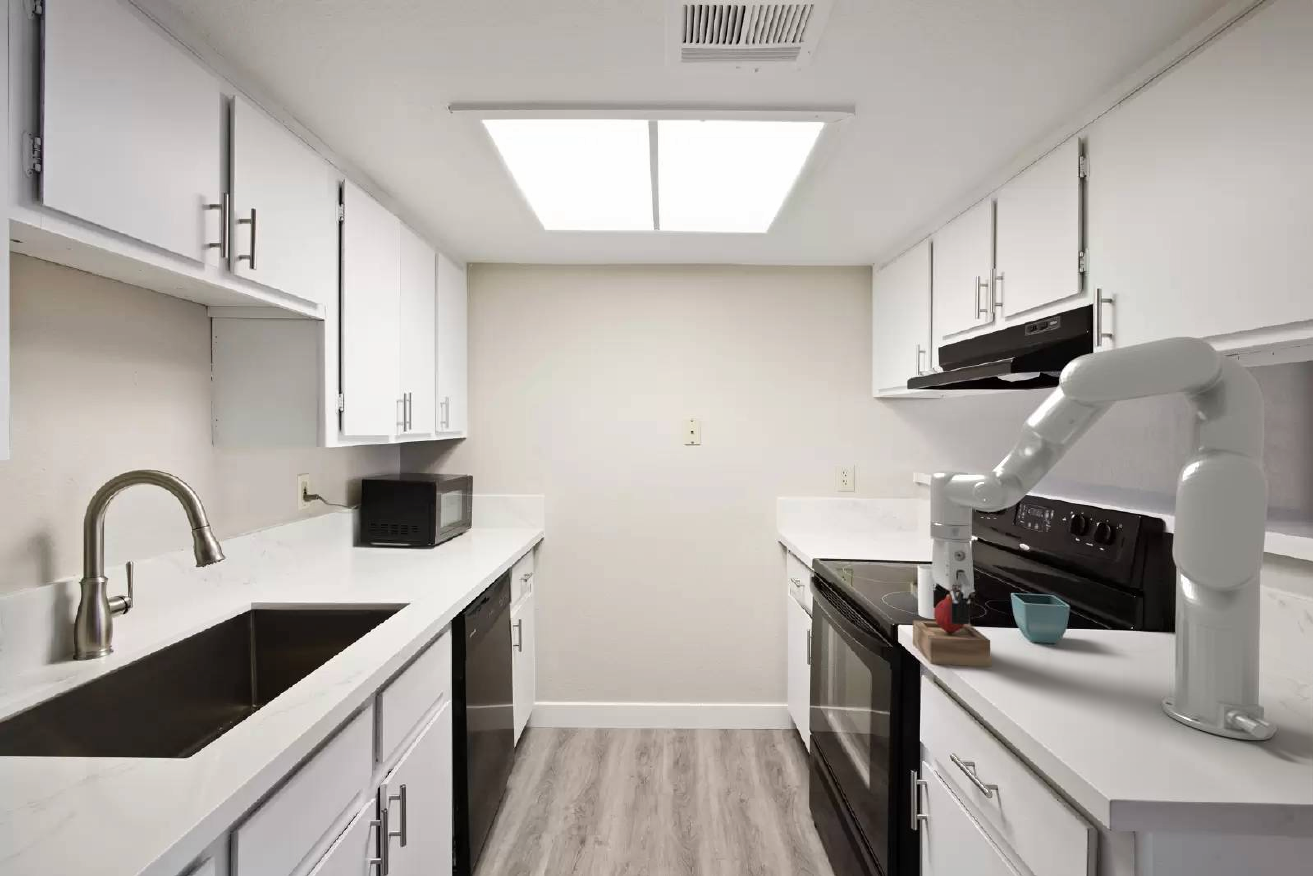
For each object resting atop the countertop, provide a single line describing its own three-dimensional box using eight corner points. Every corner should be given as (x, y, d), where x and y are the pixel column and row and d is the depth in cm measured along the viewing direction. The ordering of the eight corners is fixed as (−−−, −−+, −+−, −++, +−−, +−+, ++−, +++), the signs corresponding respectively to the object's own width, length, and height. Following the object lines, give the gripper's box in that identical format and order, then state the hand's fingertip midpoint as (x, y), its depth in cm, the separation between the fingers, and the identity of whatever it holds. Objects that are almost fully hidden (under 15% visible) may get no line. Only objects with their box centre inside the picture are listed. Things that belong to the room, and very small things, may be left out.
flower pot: (1024, 645, 125) (1024, 603, 125) (1009, 631, 134) (1009, 592, 134) (1070, 648, 123) (1071, 606, 123) (1053, 635, 132) (1053, 595, 132)
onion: (970, 639, 116) (969, 599, 116) (938, 638, 117) (937, 598, 117) (961, 629, 122) (960, 590, 121) (931, 628, 123) (930, 590, 122)
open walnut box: (990, 666, 113) (990, 640, 113) (930, 663, 114) (930, 638, 114) (966, 646, 124) (967, 622, 124) (912, 643, 125) (913, 620, 125)
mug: (916, 617, 144) (916, 568, 144) (918, 610, 150) (918, 563, 150) (962, 624, 139) (962, 573, 139) (962, 616, 145) (962, 568, 145)
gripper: (989, 539, 110) (988, 630, 110) (953, 526, 127) (953, 604, 127) (947, 538, 111) (947, 629, 111) (917, 525, 128) (917, 603, 128)
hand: (950, 615), depth 119 cm, fingers open, 9 cm apart
